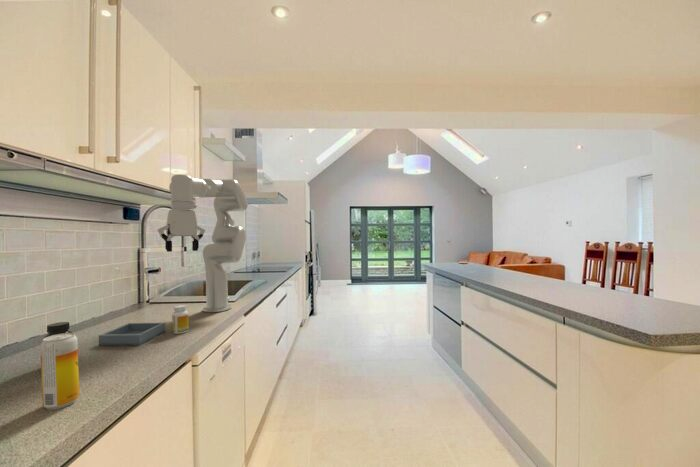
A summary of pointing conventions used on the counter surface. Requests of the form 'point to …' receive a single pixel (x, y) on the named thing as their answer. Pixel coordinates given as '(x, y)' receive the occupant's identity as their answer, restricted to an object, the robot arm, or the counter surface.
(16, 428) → the counter surface
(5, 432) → the counter surface
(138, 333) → the tray
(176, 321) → the supplement bottle
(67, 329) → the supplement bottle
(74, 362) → the pill bottle
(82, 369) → the counter surface
